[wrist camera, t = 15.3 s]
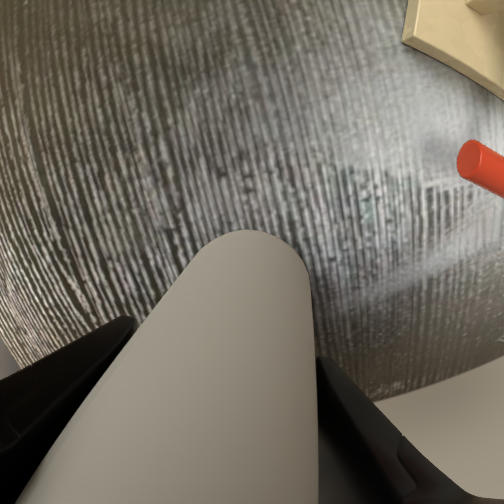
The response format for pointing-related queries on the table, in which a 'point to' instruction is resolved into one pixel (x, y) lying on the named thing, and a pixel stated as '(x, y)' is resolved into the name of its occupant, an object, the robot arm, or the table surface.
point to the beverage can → (203, 393)
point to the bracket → (461, 37)
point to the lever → (482, 166)
